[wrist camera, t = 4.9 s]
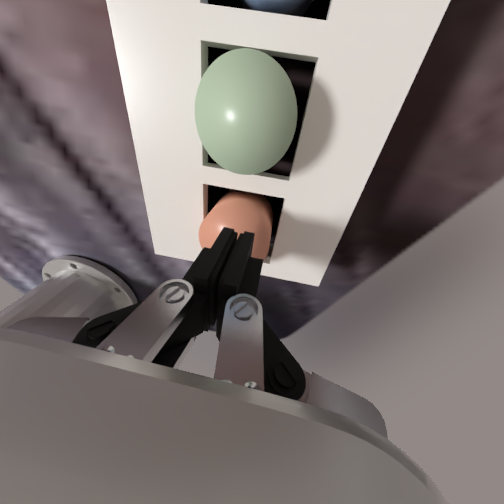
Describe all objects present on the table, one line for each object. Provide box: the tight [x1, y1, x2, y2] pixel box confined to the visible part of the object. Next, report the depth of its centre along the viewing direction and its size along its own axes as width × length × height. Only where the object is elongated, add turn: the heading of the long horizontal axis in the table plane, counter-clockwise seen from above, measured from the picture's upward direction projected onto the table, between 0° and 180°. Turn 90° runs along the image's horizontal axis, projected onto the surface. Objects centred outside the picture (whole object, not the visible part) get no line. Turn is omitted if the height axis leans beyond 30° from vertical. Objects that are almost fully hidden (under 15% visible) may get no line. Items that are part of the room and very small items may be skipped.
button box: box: [106, 0, 451, 286], centre depth 12 cm, size 21×14×4 cm, turn 173°
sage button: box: [195, 48, 297, 175], centre depth 10 cm, size 5×5×4 cm
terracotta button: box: [199, 189, 273, 260], centre depth 14 cm, size 5×5×4 cm
